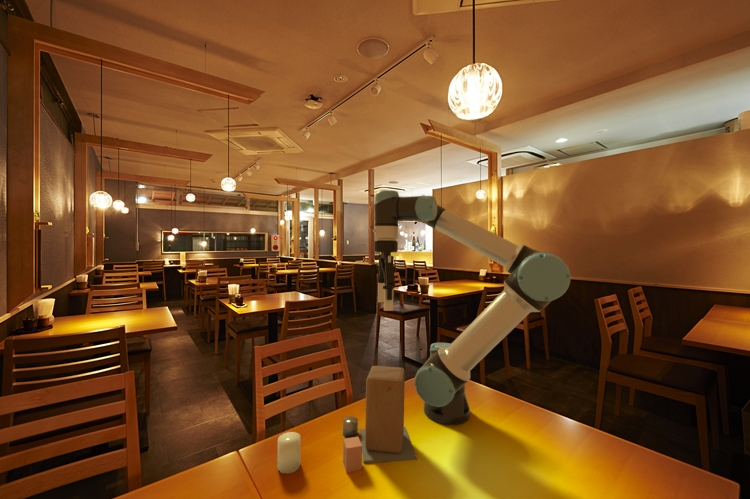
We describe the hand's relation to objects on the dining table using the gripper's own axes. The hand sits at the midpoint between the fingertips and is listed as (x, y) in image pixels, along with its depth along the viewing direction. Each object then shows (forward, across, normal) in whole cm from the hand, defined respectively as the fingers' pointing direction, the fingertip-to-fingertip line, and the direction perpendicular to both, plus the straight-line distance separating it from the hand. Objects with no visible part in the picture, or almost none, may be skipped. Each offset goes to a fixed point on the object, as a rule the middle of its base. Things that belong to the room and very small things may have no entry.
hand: (384, 306), depth 102 cm
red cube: (+37, +20, -11) cm, 44 cm away
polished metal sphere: (+37, +7, -11) cm, 39 cm away
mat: (+37, +13, -1) cm, 39 cm away
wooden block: (+36, +13, -1) cm, 39 cm away
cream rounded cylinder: (+37, +19, -27) cm, 49 cm away
